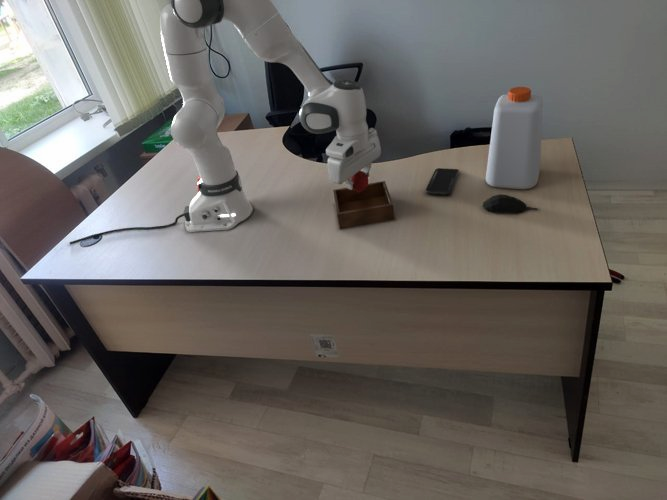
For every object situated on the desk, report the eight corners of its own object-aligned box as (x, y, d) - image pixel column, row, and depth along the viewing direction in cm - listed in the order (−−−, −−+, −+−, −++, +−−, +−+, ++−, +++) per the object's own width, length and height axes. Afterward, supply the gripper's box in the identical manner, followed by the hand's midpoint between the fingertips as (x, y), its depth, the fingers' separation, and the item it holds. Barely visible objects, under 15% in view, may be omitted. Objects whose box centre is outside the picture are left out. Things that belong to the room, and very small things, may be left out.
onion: (369, 186, 145) (367, 163, 140) (369, 196, 141) (366, 172, 136) (350, 187, 146) (347, 164, 141) (349, 197, 142) (346, 174, 137)
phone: (425, 191, 149) (436, 167, 160) (425, 194, 150) (436, 170, 160) (450, 193, 146) (459, 169, 157) (450, 196, 147) (459, 172, 157)
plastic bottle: (491, 164, 158) (496, 80, 141) (540, 167, 152) (551, 80, 135) (483, 188, 148) (486, 100, 131) (535, 192, 142) (546, 100, 125)
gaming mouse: (537, 215, 132) (538, 203, 130) (481, 213, 137) (482, 201, 135) (537, 203, 137) (538, 191, 135) (483, 201, 142) (484, 189, 140)
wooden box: (339, 229, 142) (336, 214, 139) (335, 204, 154) (333, 189, 150) (394, 219, 142) (393, 204, 138) (386, 195, 153) (384, 180, 150)
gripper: (366, 123, 141) (371, 165, 149) (321, 152, 129) (328, 196, 138) (384, 127, 137) (387, 169, 145) (339, 157, 126) (345, 201, 134)
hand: (358, 182), depth 141 cm, fingers closed on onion, 6 cm apart
